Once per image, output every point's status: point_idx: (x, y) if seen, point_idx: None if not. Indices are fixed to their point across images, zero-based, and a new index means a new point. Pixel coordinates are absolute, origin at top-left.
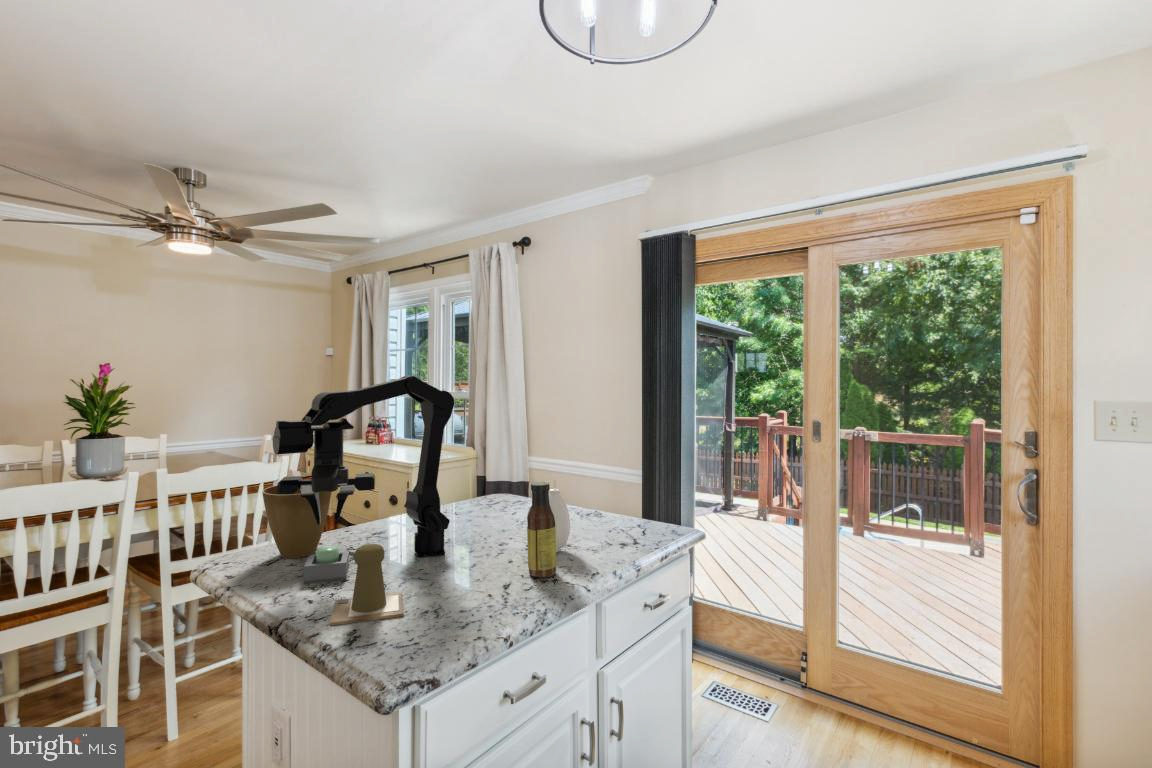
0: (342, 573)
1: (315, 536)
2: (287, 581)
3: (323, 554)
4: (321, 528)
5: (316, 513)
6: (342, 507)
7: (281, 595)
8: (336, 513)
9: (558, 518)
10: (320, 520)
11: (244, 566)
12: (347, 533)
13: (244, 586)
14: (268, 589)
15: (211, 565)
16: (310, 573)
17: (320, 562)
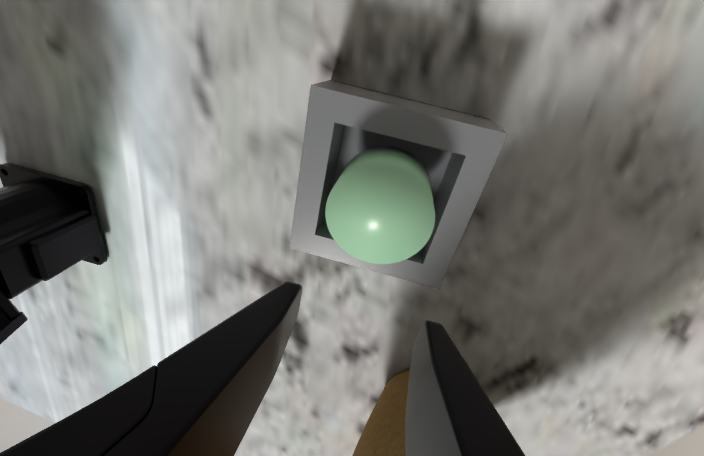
0: (339, 85)
1: (387, 418)
2: (534, 181)
3: (408, 169)
4: (363, 447)
5: (477, 418)
6: (135, 377)
7: (622, 4)
8: (255, 340)
9: None
10: (413, 363)
11: (596, 385)
12: (293, 453)
13: (690, 211)
14: (632, 124)
15: (670, 435)
16: (471, 119)
17: (420, 167)
